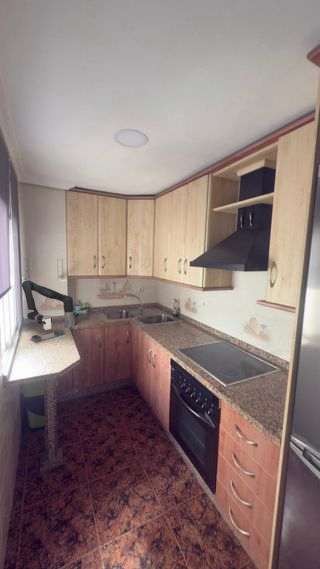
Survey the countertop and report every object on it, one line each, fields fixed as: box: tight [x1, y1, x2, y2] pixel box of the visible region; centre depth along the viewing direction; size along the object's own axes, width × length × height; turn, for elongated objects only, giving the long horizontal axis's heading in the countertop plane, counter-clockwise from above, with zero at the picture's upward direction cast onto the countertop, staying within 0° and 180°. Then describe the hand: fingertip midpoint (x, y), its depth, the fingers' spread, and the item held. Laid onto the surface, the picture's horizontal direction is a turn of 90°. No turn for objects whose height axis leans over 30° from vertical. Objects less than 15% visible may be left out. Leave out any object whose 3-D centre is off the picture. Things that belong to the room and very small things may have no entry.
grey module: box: [43, 315, 52, 331], centre depth 221 cm, size 5×5×12 cm
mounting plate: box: [29, 328, 67, 346], centre depth 223 cm, size 28×14×4 cm, turn 140°
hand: (48, 322), depth 219 cm, fingers closed on grey module, 5 cm apart
